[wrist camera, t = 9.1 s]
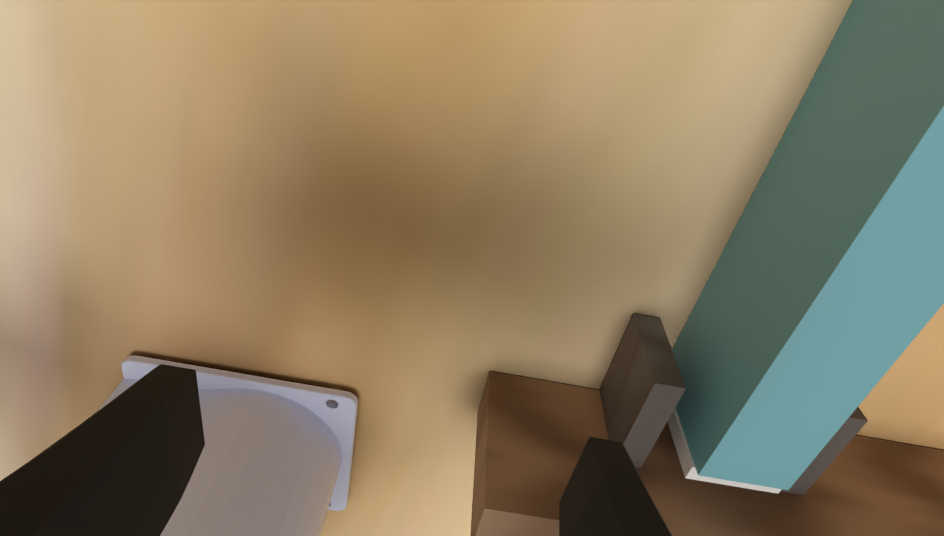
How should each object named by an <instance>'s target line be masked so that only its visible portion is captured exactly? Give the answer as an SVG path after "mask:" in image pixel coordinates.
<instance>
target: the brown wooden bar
mask: <svg viewBox="0 0 944 536" xmlns="http://www.w3.org/2000/svg"><path fill="white" fill-rule="evenodd" d="M685 389H686V387H685V385H684V382H683V379H682V377H681V374H680V371H679V368H678V366H677V363H676V360H675V357H674V355H673V352H672V349H671V347H670V344H669V341H668V338H667V336H666V333H665V330H664V327H663V325H662V322H661V319H660V318H656V317H651V316H645V315H640V314H634V313H633V316H632V318H631V320H630V322H629V325H628V327H627V329H626V331H625V334H624V336H623V338H622V340H621V343H620V345H619V347H618V349H617V352H616V354H615V356H614V358H613V361H612V363H611V365H610V367H609V370H608V372H607V374H606V376H605V379H604V381H603V383H602V385H601V388H600V390H596V389H590V388H584V387H579V386H573V385H567V384H561V383H556V382H550V381H544V380H539V379H533V378H527V377H521V376H516V375H510V374H504V373H499V372H493V371H489V375H488V379H487V382H486V386H485V389H484V393H483V396H482V400H481V404H480V407H479V411H478V418H477V435H476V452H475V469H474V487H473V504H472V521H471V536H559V502H560V499H561V497H562V495H563V493H564V491H565V489H566V486H567V484H568V482H569V480H570V478H571V476H572V473H573V471H574V469H575V467H576V465H577V463H578V460H579V458H580V456H581V454H582V452H583V450H584V447H585V445H586V443H587V441H588V439H589V437H594V438H600V439H606V440H612V441H618V442H622V444H623V445H624V447H625V449H626V450H627V452H628V454H629V456H630V458H631V460H632V462H633V464H634V466H635V468H636V470H637V472H638V474H639V475H640V477H641V479H642V481H643V483H644V485H645V487H646V489H647V491H648V493H649V494H650V496H651V498H652V500H653V502H654V504H655V506H656V507H657V509H658V511H659V513H660V515H661V517H662V518H663V520H664V522H665V524H666V526H667V527H668V529H669V531H670V533H671V535H672V536H944V450H939V449H933V448H927V447H922V446H916V445H910V444H904V443H899V442H893V441H887V440H882V439H876V438H870V437H864V436H859V435H856V434H857V433H858V431H859V430H860V429H861V428H862V427H863V426H864V424H865V423H866V422H867V421H868V420H867V419H866V418H865V416H864V415H863V413H862V412H861V410H860V409H859V407H857V408H856V409H855V411H854V412H853V413H852V414H851V415H850V417H849V418H848V419H847V420H846V421H845V423H844V424H843V425H842V426H841V427H840V429H839V430H838V431H837V432H836V433H835V435H834V436H833V437H832V438H831V439H830V441H829V442H828V443H827V444H826V445H825V447H824V448H823V449H822V450H821V451H820V453H819V454H818V455H817V456H816V458H815V459H814V460H813V461H812V462H811V464H810V465H809V466H808V467H807V468H806V470H805V471H804V472H803V473H802V474H801V476H800V477H799V478H798V479H797V480H796V482H795V483H794V484H793V485H792V486H791V488H790V489H789V490H783V489H782V490H781V491H780V492H779V493H778V494H777V493H771V492H765V491H759V490H753V489H747V488H741V487H735V486H729V485H723V484H717V483H711V482H705V481H699V480H693V479H687V478H685V477H684V473H683V470H682V467H681V464H680V460H679V457H678V454H677V451H676V448H675V444H674V441H673V438H672V435H671V432H670V428H669V425H668V422H667V421H668V419H669V418H670V416H671V414H672V412H673V411H674V409H675V407H676V405H677V404H678V402H679V400H680V398H681V396H682V395H683V393H684V391H685Z"/></svg>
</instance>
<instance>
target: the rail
mask: <svg viewBox="0 0 944 536" xmlns="http://www.w3.org/2000/svg"><path fill="white" fill-rule="evenodd" d="M943 303H944V0H853V1H852V3H851V5H850V7H849V9H848V11H847V13H846V15H845V17H844V19H843V21H842V23H841V24H840V26H839V28H838V30H837V32H836V34H835V36H834V38H833V40H832V42H831V44H830V46H829V48H828V50H827V51H826V53H825V55H824V57H823V59H822V61H821V63H820V65H819V67H818V69H817V71H816V73H815V75H814V77H813V79H812V80H811V82H810V84H809V86H808V88H807V90H806V92H805V94H804V96H803V98H802V100H801V102H800V104H799V106H798V107H797V109H796V111H795V113H794V115H793V117H792V119H791V121H790V123H789V125H788V127H787V129H786V131H785V133H784V134H783V136H782V138H781V140H780V142H779V144H778V146H777V148H776V150H775V152H774V154H773V156H772V158H771V160H770V161H769V163H768V165H767V167H766V169H765V171H764V173H763V175H762V177H761V179H760V181H759V183H758V185H757V187H756V188H755V190H754V192H753V194H752V196H751V198H750V200H749V202H748V204H747V206H746V208H745V210H744V212H743V214H742V215H741V217H740V219H739V221H738V223H737V225H736V227H735V229H734V231H733V233H732V235H731V237H730V239H729V241H728V242H727V244H726V246H725V248H724V250H723V252H722V254H721V256H720V258H719V260H718V262H717V264H716V266H715V268H714V269H713V271H712V273H711V275H710V277H709V279H708V281H707V283H706V285H705V287H704V289H703V291H702V293H701V295H700V297H699V298H698V300H697V302H696V304H695V306H694V308H693V310H692V312H691V314H690V316H689V318H688V320H687V322H686V324H685V325H684V327H683V329H682V331H681V333H680V335H679V337H678V339H677V341H676V343H675V345H674V347H673V349H672V352H673V355H674V357H675V360H676V363H677V366H678V368H679V371H680V374H681V377H682V379H683V382H684V385H685V387H686V389H685V391H684V393H683V395H682V396H681V398H680V400H679V402H678V404H677V405H676V407H675V409H674V411H673V412H672V414H671V416H670V418H669V419H668V421H667V422H668V425H669V428H670V432H671V435H672V438H673V441H674V444H675V448H676V451H677V454H678V457H679V460H680V464H681V467H682V470H683V473H684V477H685V478H687V479H693V480H699V481H705V482H711V483H717V484H723V485H729V486H735V487H741V488H747V489H753V490H759V491H765V492H771V493H777V494H778V493H779V492H780V491H781V490H782V489H783V490H789V489H790V488H791V486H792V485H793V484H794V483H795V482H796V480H797V479H798V478H799V477H800V476H801V474H802V473H803V472H804V471H805V470H806V468H807V467H808V466H809V465H810V464H811V462H812V461H813V460H814V459H815V458H816V456H817V455H818V454H819V453H820V451H821V450H822V449H823V448H824V447H825V445H826V444H827V443H828V442H829V441H830V439H831V438H832V437H833V436H834V435H835V433H836V432H837V431H838V430H839V429H840V427H841V426H842V425H843V424H844V423H845V421H846V420H847V419H848V418H849V417H850V415H851V414H852V413H853V412H854V411H855V409H856V408H857V407H858V406H859V405H860V403H861V402H862V401H863V400H864V398H865V397H866V396H867V395H868V394H869V392H870V391H871V390H872V389H873V388H874V386H875V385H876V384H877V383H878V382H879V380H880V379H881V378H882V377H883V376H884V374H885V373H886V372H887V371H888V370H889V368H890V367H891V366H892V365H893V364H894V362H895V361H896V360H897V359H898V358H899V356H900V355H901V354H902V353H903V351H904V350H905V349H906V348H907V347H908V345H909V344H910V343H911V342H912V341H913V339H914V338H915V337H916V336H917V335H918V333H919V332H920V331H921V330H922V329H923V327H924V326H925V325H926V324H927V323H928V321H929V320H930V319H931V318H932V317H933V315H934V314H935V313H936V312H937V311H938V309H939V308H940V307H941V306H942V304H943Z"/></svg>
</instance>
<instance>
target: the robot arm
mask: <svg viewBox="0 0 944 536" xmlns="http://www.w3.org/2000/svg"><path fill="white" fill-rule="evenodd" d="M121 369H122V373H123V377H124V379H123V380H122V381H121V383H120V384H119V385H118V386H117V388H116V389H115V390H114V391H113V393H112V394H111V395H110V396H109V398H108V399H107V400H106V401H105V402H104V404H103V405H102V406H101V407H100V409H99V410H98V411H97V412H96V413H95V414H94V415H92V416H91V417H90V418H88V419H87V420H86V421H84V422H83V423H82V424H80V425H79V426H77V427H76V428H75V429H73V430H72V431H71V432H69V433H68V434H66V435H65V436H64V437H62V438H61V439H60V440H58V441H57V442H55V443H54V444H53V445H51V446H50V447H49V448H47V449H46V450H44V451H43V452H42V453H40V454H39V455H38V456H36V457H35V458H33V459H32V460H31V461H29V462H28V463H26V464H25V465H23V466H22V467H21V468H19V469H18V470H16V471H15V472H13V473H12V474H10V475H9V476H7V477H6V478H4V479H3V480H1V481H0V536H320V534H321V531H322V527H323V524H324V521H325V517H326V514H327V510H333V511H342V510H344V509H345V508H346V506H347V503H348V496H349V486H350V477H351V467H352V457H353V448H354V438H355V428H356V419H357V409H358V398H357V397H356V396H355V395H354V394H353V393H351V392H348V391H342V390H336V389H330V388H324V387H318V386H313V385H307V384H301V383H295V382H289V381H283V380H277V379H271V378H266V377H260V376H254V375H248V374H242V373H236V372H230V371H224V370H219V369H213V368H207V367H201V366H195V365H189V364H183V363H177V362H172V361H166V360H160V359H154V358H148V357H142V356H134V355H131V356H128V357H127V358H126V359H125V361H124V362H123V363H122V364H121ZM332 400H335V401H332ZM559 536H672V535H671V533H670V531H669V529H668V527H667V526H666V524H665V522H664V520H663V518H662V517H661V515H660V513H659V511H658V509H657V507H656V506H655V504H654V502H653V500H652V498H651V496H650V494H649V493H648V491H647V489H646V487H645V485H644V483H643V481H642V479H641V477H640V475H639V474H638V472H637V470H636V468H635V466H634V464H633V462H632V460H631V458H630V456H629V454H628V452H627V450H626V449H625V447H624V445H623V444H622V442H618V441H612V440H606V439H600V438H594V437H589V439H588V441H587V443H586V445H585V447H584V450H583V452H582V454H581V456H580V458H579V460H578V463H577V465H576V467H575V469H574V471H573V473H572V476H571V478H570V480H569V482H568V484H567V486H566V489H565V491H564V493H563V495H562V497H561V499H560V502H559Z"/></svg>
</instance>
